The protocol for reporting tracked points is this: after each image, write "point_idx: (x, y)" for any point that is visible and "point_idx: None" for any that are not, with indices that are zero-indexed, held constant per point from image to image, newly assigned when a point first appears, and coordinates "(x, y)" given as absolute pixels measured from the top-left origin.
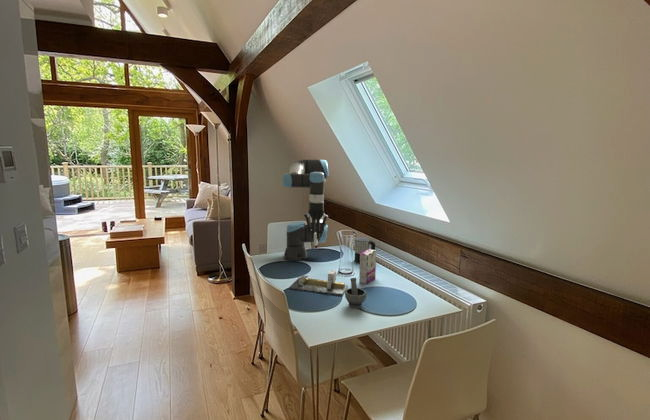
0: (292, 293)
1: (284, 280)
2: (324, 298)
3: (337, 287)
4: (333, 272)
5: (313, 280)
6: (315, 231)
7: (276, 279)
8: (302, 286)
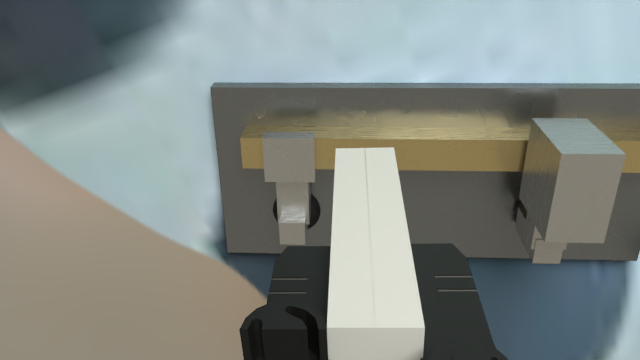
0: None
1: (115, 121)
2: (509, 312)
3: None
4: (599, 203)
5: None
6: (325, 344)
7: (46, 122)
8: (314, 224)
